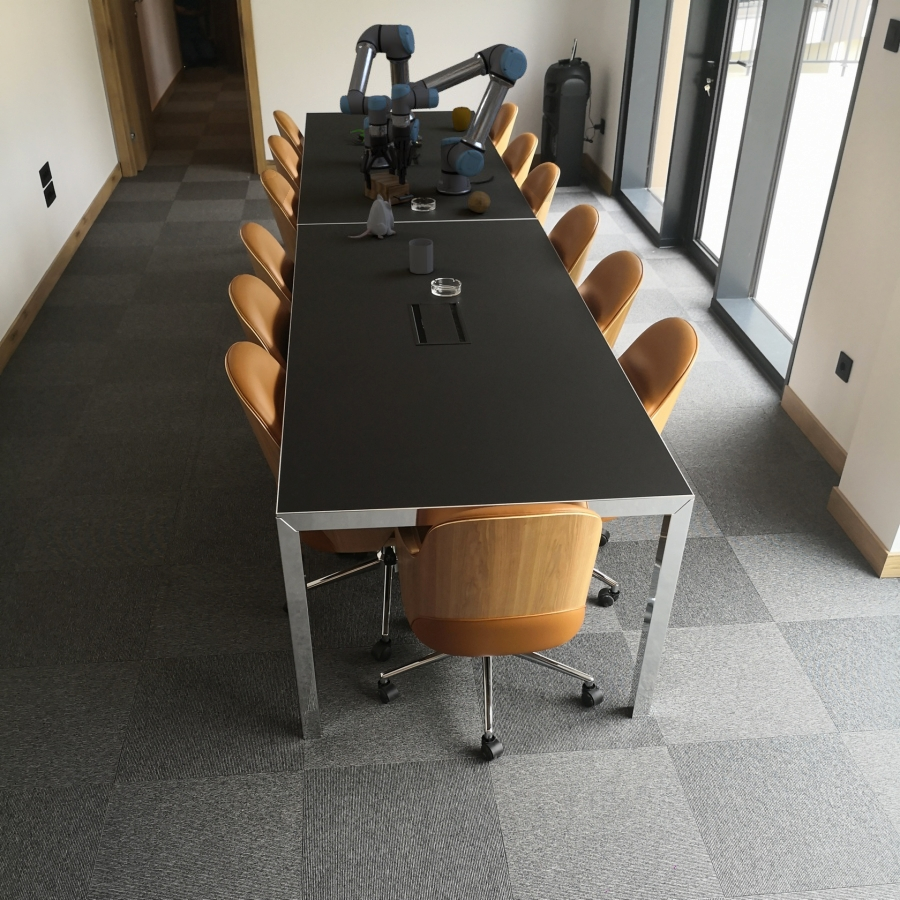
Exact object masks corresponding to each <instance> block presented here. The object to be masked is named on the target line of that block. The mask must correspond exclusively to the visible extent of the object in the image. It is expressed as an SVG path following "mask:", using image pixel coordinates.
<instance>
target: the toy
mask: <svg viewBox="0 0 900 900" xmlns="http://www.w3.org/2000/svg"><path fill="white" fill-rule="evenodd" d="M394 227H395V218H394V214H393V209H392V205H391V201H390V198H389V203H388V202H387V201H383V198H382V197H381V196H380V195H379V194H378V195H377V200H373V203H372V205H371V208H370V210H369V215H368V219H367V221H366V231H364V232H363V233H361V234H359V235H355V236H351V235H348V236H347V238H351V239H361V238H363V237H365V236H367V235H368V236H373V235H377V238H378V239H380V240H381V239H384V236H385V235H387V236H391V235H395V234H396V231H395V230H393V229H394Z"/></svg>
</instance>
